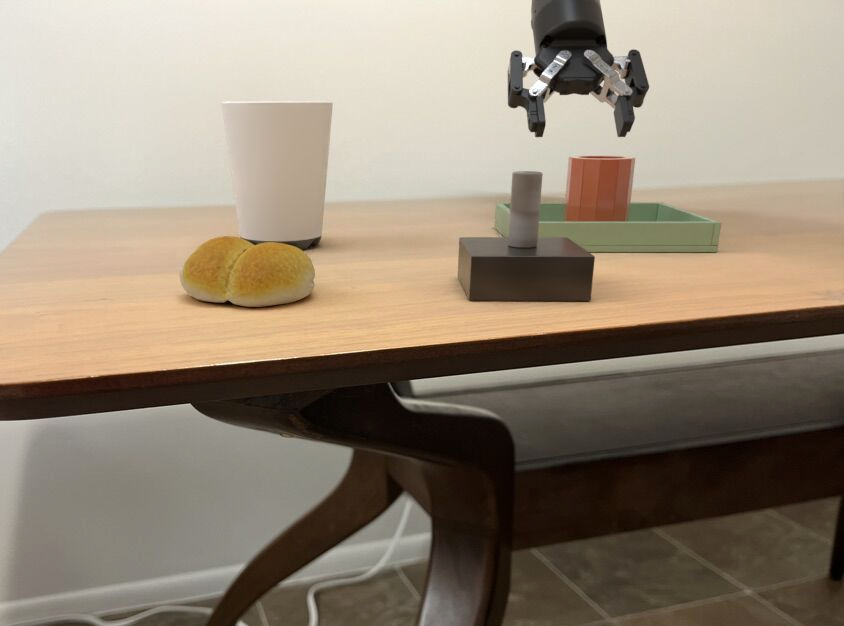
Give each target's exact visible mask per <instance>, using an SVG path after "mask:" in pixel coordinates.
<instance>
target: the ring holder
mask: <svg viewBox="0 0 844 626" xmlns="http://www.w3.org/2000/svg"><path fill="white" fill-rule="evenodd" d="M543 175H544V174H543V172H542V171H537V170H536V171H532V170H520V171H519V170H518V171H513V172H512V174H511V189H510V190H511V191H510V193H511V194H510V202H509V203H510V219H509V235H508V237H504V236H501V237H500V236H497V237H496V236H493V237H492V236H490V237H489V236H461V237H460V236H459V238H458V259H457V278H458V280H459V282H460V284H461V286H462V288H463V291H464V293H465V295H466V296H467V298H468V301H470V302H471V301H472V302H473V301H476V302H477V301H479V302H481V301H482V302H485V301H489V302H491V301H492V302H493V301H494V302H497V301H499V302H501V301H504V302H590V301H591V299H592V291H593V281H594V280H593V279H594V270H595V261H596V256H595V255H593V254H592V253H591V252H587V251H586V250H585V249H583V248H582V247H580V246H579V245H577V244H576V243H574V242H573V241H572V240H570V239H569V238H567V237H538V228H539V215H540V203H542V202H541V201H542V188H543V187H542V186H543Z"/></svg>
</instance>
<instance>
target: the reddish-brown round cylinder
mask: <svg viewBox="0 0 844 626" xmlns="http://www.w3.org/2000/svg"><path fill="white" fill-rule="evenodd" d="M635 165H636V157H634V156H628V155H627V156H626V155H606V154H605V155H601V154H600V155H598V154H597V155H592V154H591V155H589V154H588V155H586V154H585V155H571V156H569V157H568V163H567V171H566V172H567V173H566V174H567V175H566V185H565V198H564V200H565V201H564V202H565V208H564V220H563V222H628V221H629V212H630V203H631V202H632V193H633V184H634V176H635V167H636V166H635Z"/></svg>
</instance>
